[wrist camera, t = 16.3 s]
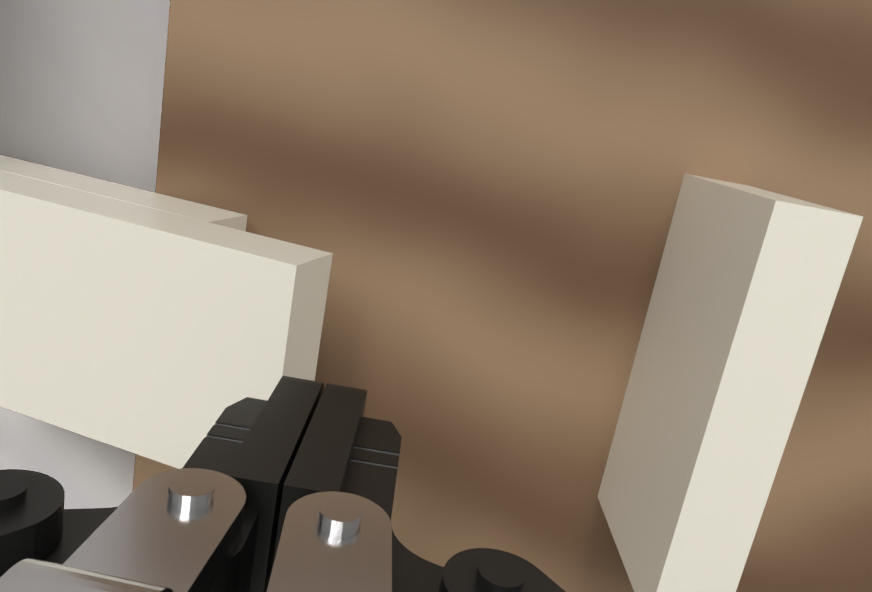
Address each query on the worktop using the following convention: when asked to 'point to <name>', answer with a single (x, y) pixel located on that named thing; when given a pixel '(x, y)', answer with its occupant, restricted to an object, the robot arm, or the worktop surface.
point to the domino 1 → (125, 193)
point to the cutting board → (535, 236)
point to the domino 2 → (145, 317)
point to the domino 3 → (719, 379)
